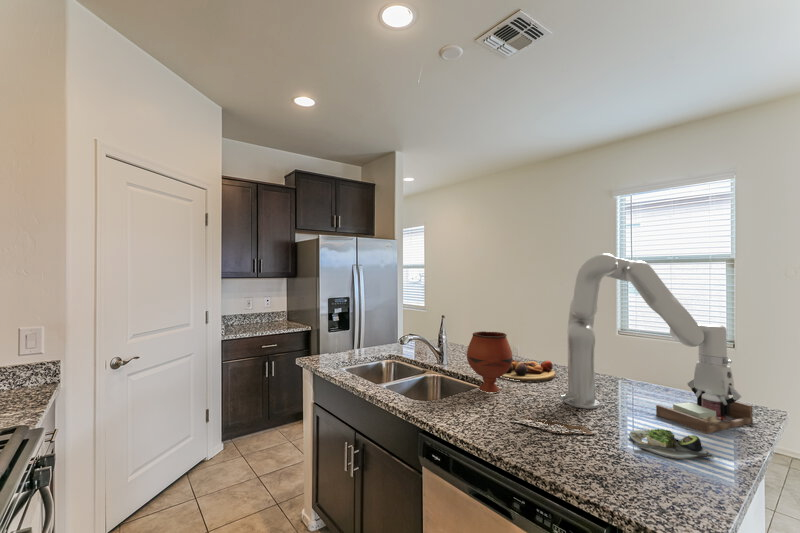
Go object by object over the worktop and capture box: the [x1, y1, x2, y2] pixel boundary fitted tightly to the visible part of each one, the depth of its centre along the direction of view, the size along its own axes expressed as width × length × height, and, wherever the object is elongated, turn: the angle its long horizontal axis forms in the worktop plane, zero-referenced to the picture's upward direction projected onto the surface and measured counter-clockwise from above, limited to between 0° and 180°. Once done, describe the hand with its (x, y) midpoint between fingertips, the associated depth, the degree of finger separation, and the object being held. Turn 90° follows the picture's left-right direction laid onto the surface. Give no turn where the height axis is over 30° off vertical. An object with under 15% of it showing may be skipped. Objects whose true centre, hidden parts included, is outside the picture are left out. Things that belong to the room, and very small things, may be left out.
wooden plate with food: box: [502, 359, 556, 383], centre depth 185 cm, size 32×32×8 cm
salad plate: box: [628, 428, 714, 460], centre depth 107 cm, size 19×18×5 cm
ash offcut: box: [671, 407, 716, 422], centre depth 122 cm, size 8×10×2 cm
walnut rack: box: [655, 401, 754, 434], centre depth 124 cm, size 24×16×7 cm, turn 111°
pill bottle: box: [702, 389, 726, 421], centre depth 126 cm, size 6×6×11 cm
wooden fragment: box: [525, 417, 594, 435], centre depth 120 cm, size 26×11×1 cm, turn 64°
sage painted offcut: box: [672, 401, 716, 418], centre depth 122 cm, size 7×9×2 cm
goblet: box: [466, 331, 514, 392], centre depth 157 cm, size 19×19×25 cm
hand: (713, 411), depth 126 cm, fingers closed on pill bottle, 6 cm apart
